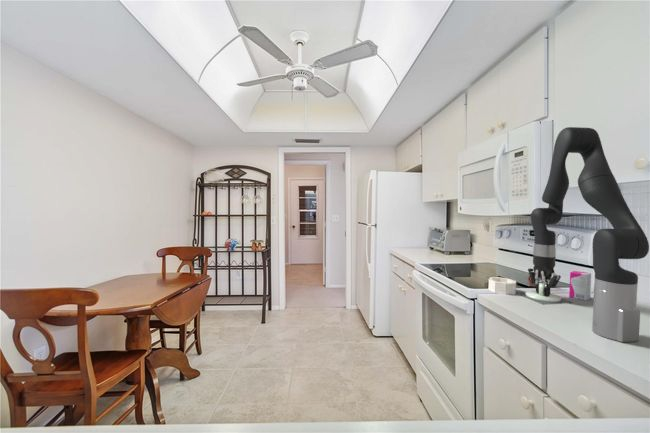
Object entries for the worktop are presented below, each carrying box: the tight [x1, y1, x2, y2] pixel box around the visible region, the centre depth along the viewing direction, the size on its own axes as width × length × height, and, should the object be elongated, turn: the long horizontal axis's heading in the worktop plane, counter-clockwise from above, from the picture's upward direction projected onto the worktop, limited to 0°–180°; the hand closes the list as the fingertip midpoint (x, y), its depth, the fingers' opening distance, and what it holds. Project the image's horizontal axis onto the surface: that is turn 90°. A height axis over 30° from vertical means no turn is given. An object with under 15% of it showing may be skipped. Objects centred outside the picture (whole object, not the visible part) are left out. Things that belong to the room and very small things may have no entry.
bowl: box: [487, 276, 517, 296], centre depth 130 cm, size 11×11×5 cm
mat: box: [514, 292, 574, 306], centre depth 120 cm, size 14×14×1 cm
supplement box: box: [568, 270, 592, 302], centre depth 120 cm, size 6×6×12 cm
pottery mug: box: [527, 275, 548, 287], centre depth 137 cm, size 12×10×8 cm
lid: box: [524, 283, 562, 303], centre depth 120 cm, size 12×12×6 cm
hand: (542, 294), depth 120 cm, fingers closed on lid, 2 cm apart
